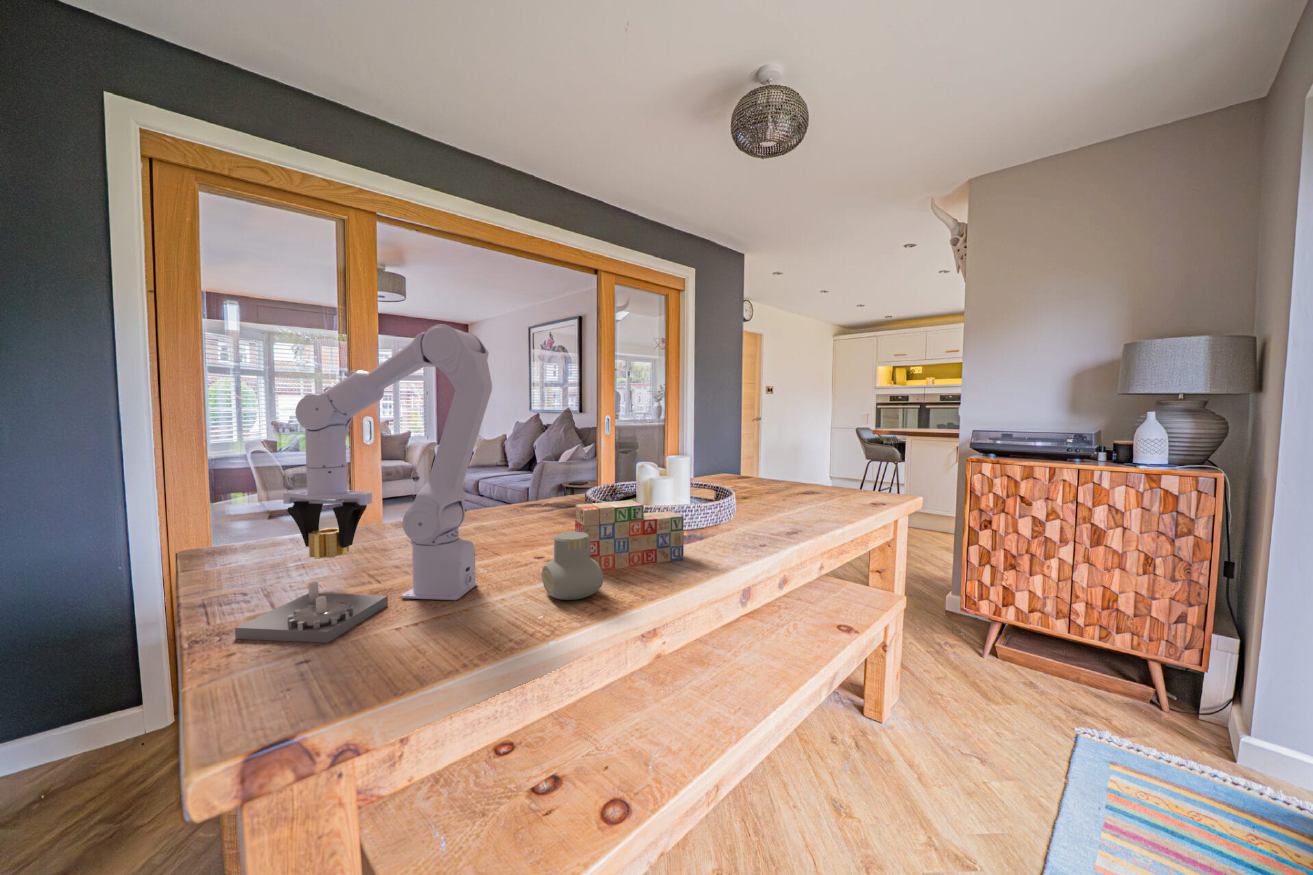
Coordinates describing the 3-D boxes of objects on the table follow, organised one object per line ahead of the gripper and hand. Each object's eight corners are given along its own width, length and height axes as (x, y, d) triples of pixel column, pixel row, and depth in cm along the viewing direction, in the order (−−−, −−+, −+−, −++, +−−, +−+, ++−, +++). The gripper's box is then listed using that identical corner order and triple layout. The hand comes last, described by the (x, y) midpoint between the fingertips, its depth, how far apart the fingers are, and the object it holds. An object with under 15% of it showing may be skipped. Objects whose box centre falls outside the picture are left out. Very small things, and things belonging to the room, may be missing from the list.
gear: (365, 609, 74) (365, 602, 74) (327, 631, 66) (327, 624, 66) (316, 607, 75) (315, 600, 74) (273, 629, 67) (272, 621, 67)
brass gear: (356, 549, 89) (355, 527, 89) (333, 559, 84) (332, 535, 83) (325, 549, 90) (325, 526, 90) (300, 558, 84) (300, 534, 84)
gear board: (387, 605, 79) (387, 576, 79) (327, 642, 66) (326, 609, 66) (309, 602, 80) (308, 574, 80) (235, 638, 67) (234, 605, 67)
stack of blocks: (670, 552, 111) (671, 496, 110) (684, 560, 105) (684, 501, 104) (575, 564, 102) (575, 503, 101) (583, 573, 96) (583, 509, 96)
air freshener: (539, 588, 88) (539, 530, 87) (584, 581, 92) (584, 526, 91) (557, 610, 78) (557, 546, 78) (607, 601, 82) (607, 540, 81)
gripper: (382, 464, 89) (384, 540, 90) (304, 463, 90) (307, 538, 91) (355, 469, 82) (357, 551, 83) (271, 468, 83) (274, 549, 84)
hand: (329, 545), depth 87 cm, fingers closed on brass gear, 6 cm apart
